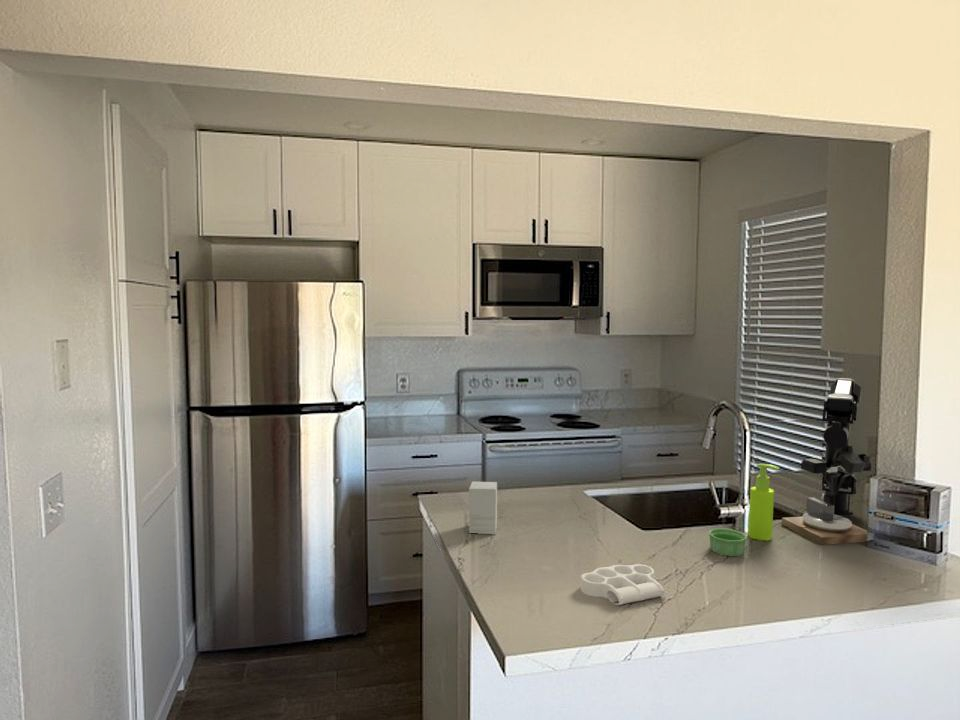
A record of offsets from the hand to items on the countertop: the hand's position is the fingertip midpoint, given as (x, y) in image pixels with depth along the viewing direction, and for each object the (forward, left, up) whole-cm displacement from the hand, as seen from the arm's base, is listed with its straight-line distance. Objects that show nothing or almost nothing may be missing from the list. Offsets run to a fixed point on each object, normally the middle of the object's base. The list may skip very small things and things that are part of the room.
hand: (834, 494), depth 188 cm
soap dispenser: (+26, +5, -9) cm, 28 cm away
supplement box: (+99, -14, -9) cm, 101 cm away
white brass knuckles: (+77, +28, -10) cm, 83 cm away
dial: (+6, +5, -7) cm, 10 cm away
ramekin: (+41, +12, -9) cm, 44 cm away
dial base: (+6, +5, -9) cm, 12 cm away
